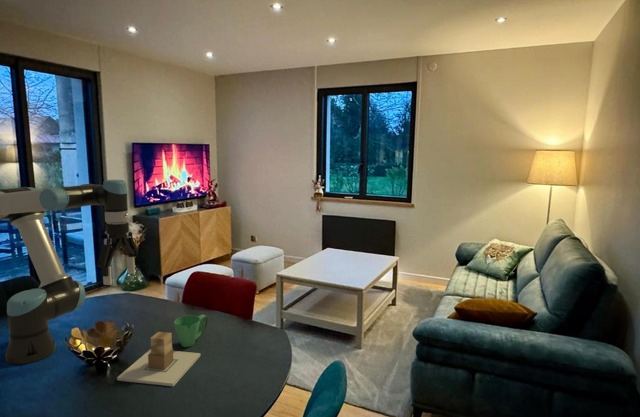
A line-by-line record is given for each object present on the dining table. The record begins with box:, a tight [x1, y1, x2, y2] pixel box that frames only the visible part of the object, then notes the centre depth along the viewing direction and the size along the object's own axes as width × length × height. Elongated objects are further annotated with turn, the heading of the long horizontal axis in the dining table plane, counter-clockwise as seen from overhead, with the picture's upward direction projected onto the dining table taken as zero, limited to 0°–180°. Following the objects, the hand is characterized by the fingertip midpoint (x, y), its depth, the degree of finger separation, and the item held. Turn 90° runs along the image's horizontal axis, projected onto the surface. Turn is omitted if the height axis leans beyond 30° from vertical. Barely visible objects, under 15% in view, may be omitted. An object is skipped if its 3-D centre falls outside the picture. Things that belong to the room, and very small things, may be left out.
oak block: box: [150, 331, 173, 356], centre depth 139 cm, size 5×5×6 cm
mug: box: [173, 314, 208, 348], centre depth 159 cm, size 15×10×10 cm
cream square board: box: [116, 347, 201, 387], centre depth 140 cm, size 20×20×6 cm
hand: (120, 278), depth 147 cm, fingers open, 13 cm apart
